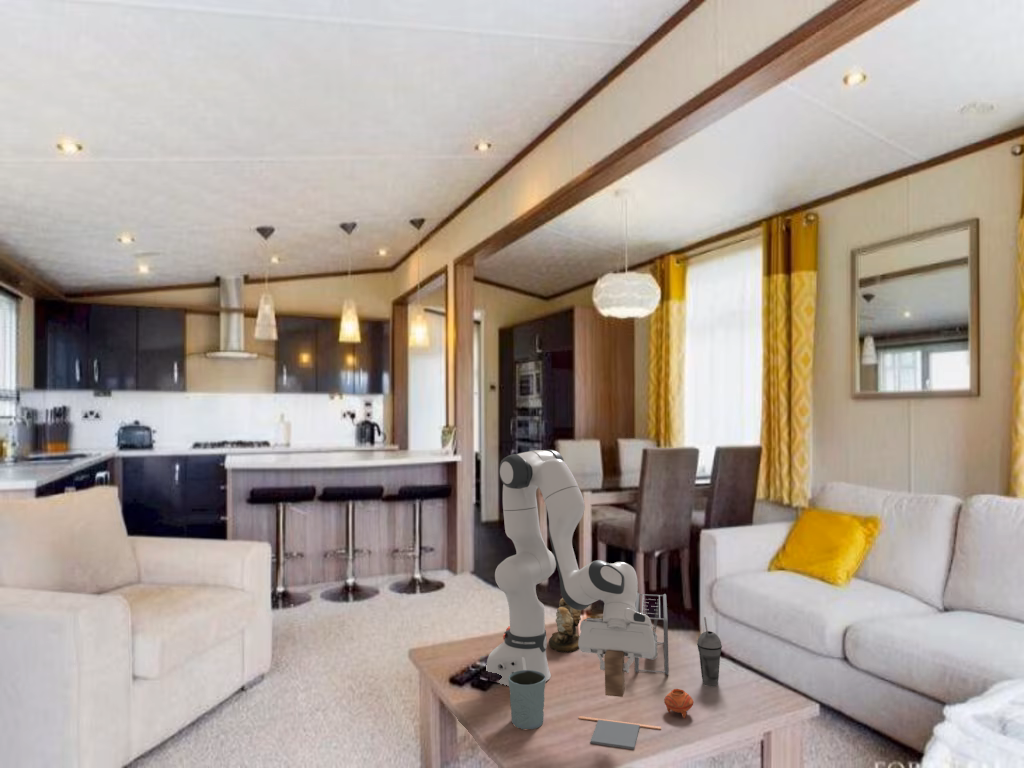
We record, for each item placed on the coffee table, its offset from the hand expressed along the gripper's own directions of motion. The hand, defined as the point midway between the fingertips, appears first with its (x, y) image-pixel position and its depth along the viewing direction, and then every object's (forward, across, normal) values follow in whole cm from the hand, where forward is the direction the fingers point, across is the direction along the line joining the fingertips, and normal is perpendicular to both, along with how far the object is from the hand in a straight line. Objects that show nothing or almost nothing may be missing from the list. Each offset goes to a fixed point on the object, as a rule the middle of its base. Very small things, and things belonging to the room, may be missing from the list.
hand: (614, 670), depth 170 cm
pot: (0, +15, +25) cm, 29 cm away
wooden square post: (+4, 0, +5) cm, 6 cm away
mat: (+11, 0, +13) cm, 17 cm away
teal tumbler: (+11, -24, +13) cm, 30 cm away
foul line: (+7, 0, +17) cm, 18 cm away
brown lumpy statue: (-31, -27, +55) cm, 69 cm away
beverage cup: (-16, +23, +40) cm, 49 cm away
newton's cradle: (-27, +4, +52) cm, 58 cm away
